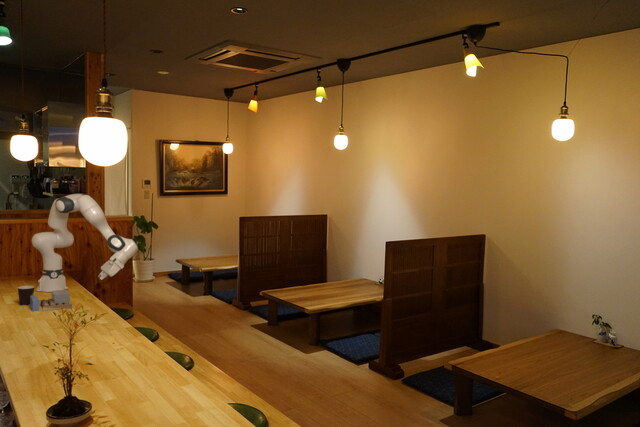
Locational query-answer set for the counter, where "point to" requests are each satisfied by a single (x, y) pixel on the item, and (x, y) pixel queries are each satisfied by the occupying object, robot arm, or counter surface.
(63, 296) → the slab
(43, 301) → the roller bed
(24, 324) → the counter surface
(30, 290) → the coffee mug
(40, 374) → the counter surface
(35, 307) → the stop block
